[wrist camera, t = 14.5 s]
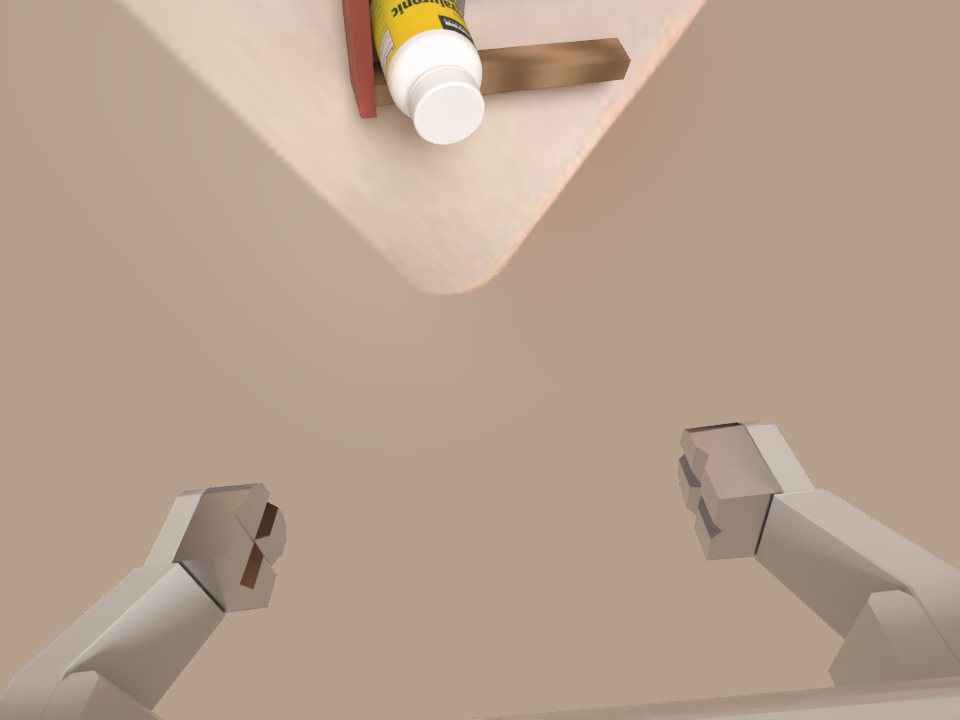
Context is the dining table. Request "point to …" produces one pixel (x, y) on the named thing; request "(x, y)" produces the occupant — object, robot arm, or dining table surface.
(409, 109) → the supplement bottle
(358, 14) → the guide channel
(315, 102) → the dining table surface
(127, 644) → the robot arm
